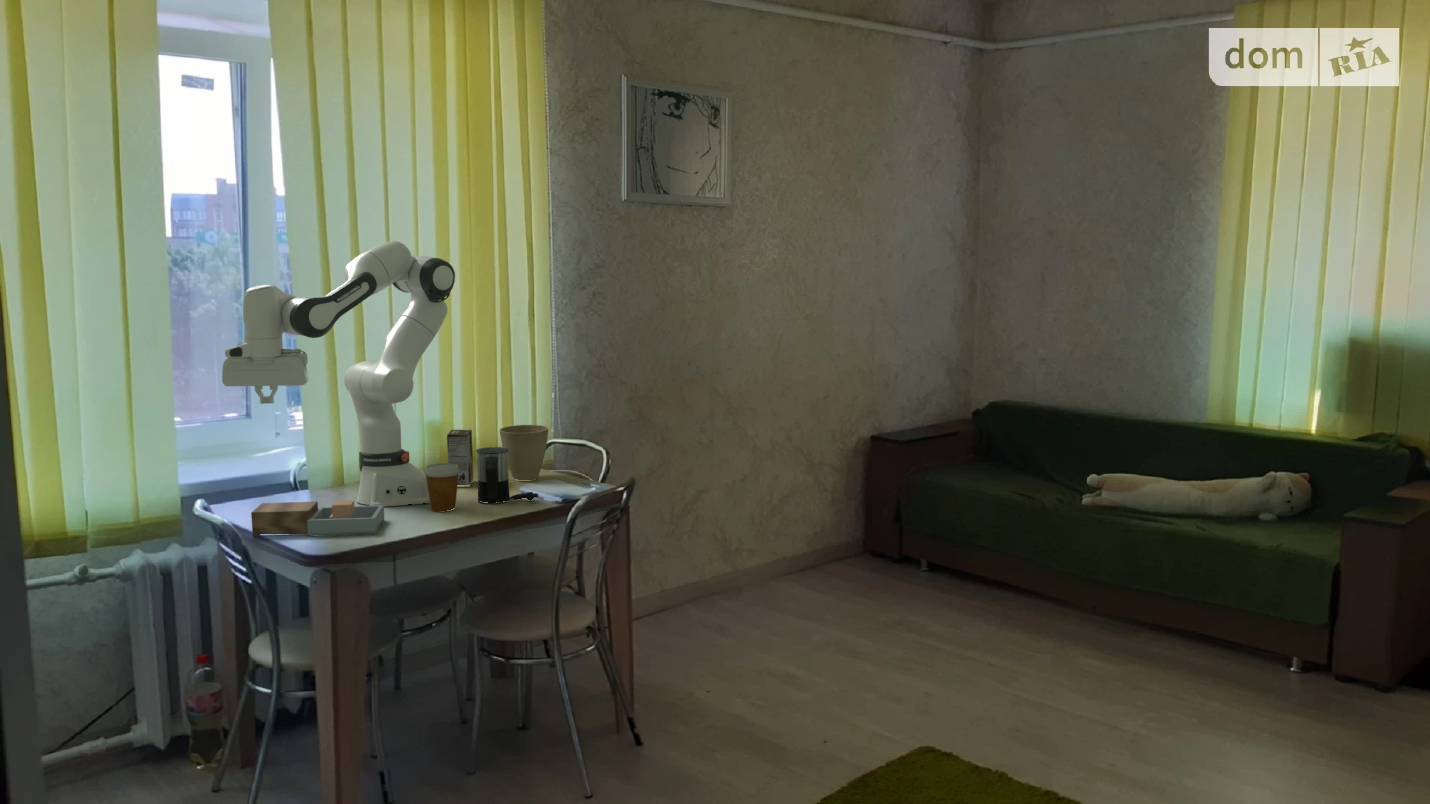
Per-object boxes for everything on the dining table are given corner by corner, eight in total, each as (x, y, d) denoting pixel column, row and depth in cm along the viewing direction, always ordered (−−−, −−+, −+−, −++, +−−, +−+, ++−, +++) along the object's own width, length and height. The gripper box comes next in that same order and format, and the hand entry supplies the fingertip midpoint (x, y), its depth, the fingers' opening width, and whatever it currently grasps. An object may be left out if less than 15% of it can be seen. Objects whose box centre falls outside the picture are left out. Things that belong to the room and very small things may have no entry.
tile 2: (332, 512, 270) (333, 523, 271) (329, 517, 266) (330, 528, 266) (351, 511, 271) (351, 523, 272) (348, 516, 266) (348, 528, 267)
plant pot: (502, 474, 334) (501, 425, 332) (550, 474, 336) (549, 424, 334) (498, 485, 320) (497, 432, 317) (548, 484, 321) (547, 432, 319)
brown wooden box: (318, 524, 273) (317, 501, 272) (309, 534, 263) (308, 510, 262) (263, 526, 271) (262, 503, 270) (252, 536, 261) (251, 512, 260)
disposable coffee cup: (467, 506, 292) (465, 463, 291) (451, 514, 283) (449, 470, 282) (435, 504, 295) (434, 462, 293) (418, 512, 285) (417, 468, 284)
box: (384, 520, 277) (383, 505, 277) (375, 533, 263) (374, 518, 263) (320, 522, 275) (319, 507, 274) (308, 536, 261) (307, 520, 260)
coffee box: (452, 481, 325) (451, 429, 323) (474, 481, 325) (472, 429, 323) (447, 487, 316) (446, 434, 314) (469, 487, 316) (468, 434, 314)
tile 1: (354, 511, 271) (354, 500, 271) (351, 516, 266) (350, 504, 266) (336, 512, 271) (335, 500, 270) (332, 517, 266) (332, 505, 265)
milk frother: (473, 499, 301) (472, 447, 299) (527, 493, 308) (526, 443, 306) (486, 510, 289) (484, 456, 287) (542, 504, 296) (541, 451, 294)
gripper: (309, 347, 273) (312, 400, 275) (226, 348, 270) (229, 402, 272) (304, 349, 267) (306, 404, 269) (218, 350, 264) (221, 405, 266)
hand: (267, 403), depth 271 cm, fingers closed
